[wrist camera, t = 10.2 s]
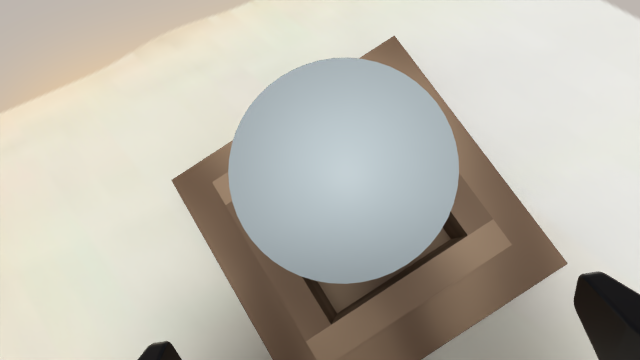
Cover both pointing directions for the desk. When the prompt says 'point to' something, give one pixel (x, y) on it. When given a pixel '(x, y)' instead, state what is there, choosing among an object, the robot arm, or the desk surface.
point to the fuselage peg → (343, 170)
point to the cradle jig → (390, 290)
